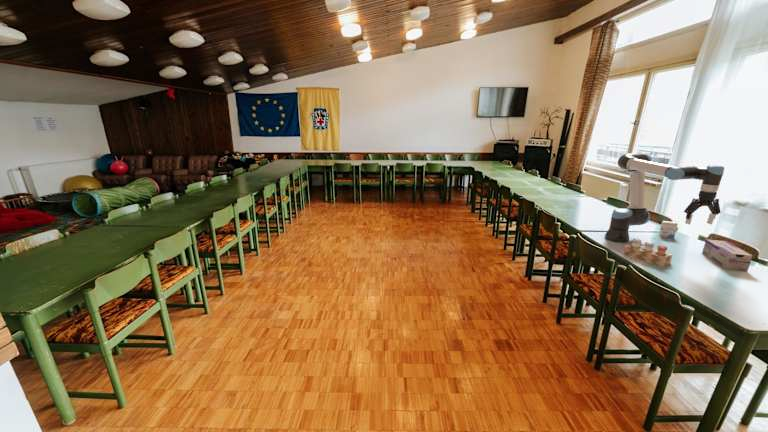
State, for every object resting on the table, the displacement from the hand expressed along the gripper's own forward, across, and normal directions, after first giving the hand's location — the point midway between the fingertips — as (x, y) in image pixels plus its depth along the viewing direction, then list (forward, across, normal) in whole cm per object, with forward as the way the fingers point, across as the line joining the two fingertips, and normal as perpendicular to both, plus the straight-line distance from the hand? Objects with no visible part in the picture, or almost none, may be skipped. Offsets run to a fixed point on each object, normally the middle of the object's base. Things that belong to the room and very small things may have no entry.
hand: (698, 223), depth 198 cm
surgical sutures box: (+24, +17, -6) cm, 30 cm away
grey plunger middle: (+21, -27, 0) cm, 34 cm away
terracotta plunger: (+21, -24, -6) cm, 32 cm away
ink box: (+25, +21, +42) cm, 53 cm away
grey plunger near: (+21, -30, +6) cm, 37 cm away
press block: (+24, -27, 0) cm, 36 cm away
